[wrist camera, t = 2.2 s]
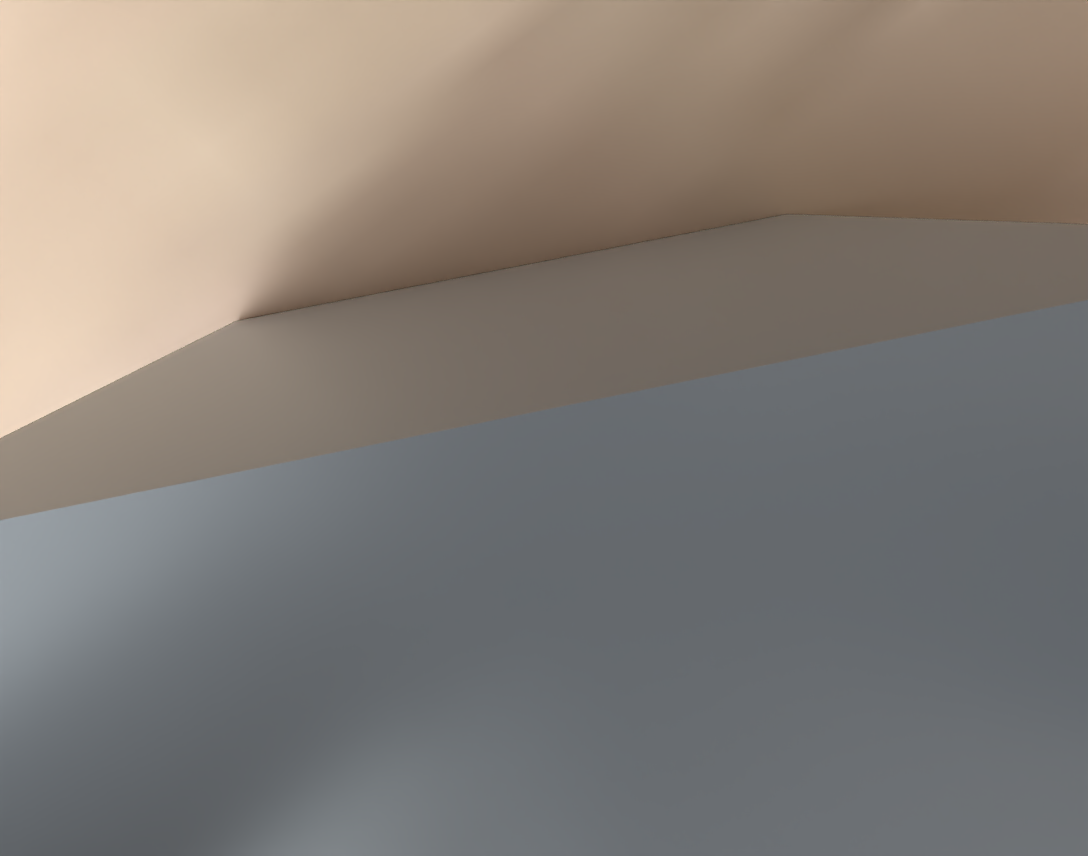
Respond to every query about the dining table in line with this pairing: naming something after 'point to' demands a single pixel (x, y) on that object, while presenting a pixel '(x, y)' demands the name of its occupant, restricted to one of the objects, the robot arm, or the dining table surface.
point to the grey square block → (576, 563)
